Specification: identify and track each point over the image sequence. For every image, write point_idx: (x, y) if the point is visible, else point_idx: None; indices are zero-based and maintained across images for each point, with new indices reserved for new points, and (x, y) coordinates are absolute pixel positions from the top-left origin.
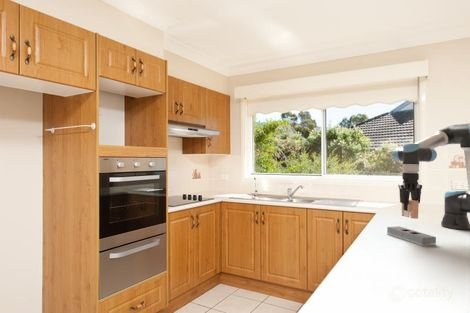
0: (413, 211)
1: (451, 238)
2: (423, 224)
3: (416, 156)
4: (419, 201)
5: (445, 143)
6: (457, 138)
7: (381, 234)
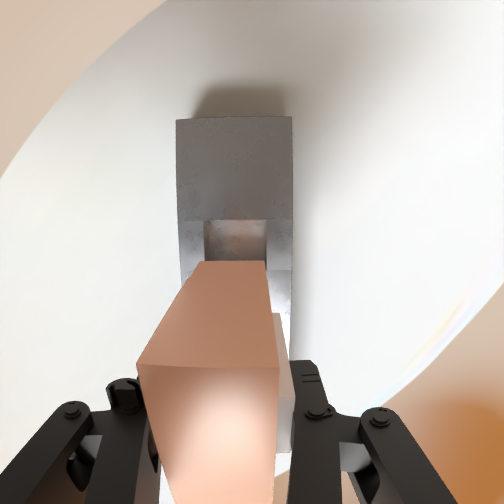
0: (267, 286)
1: (7, 250)
2: (11, 443)
3: None
4: (61, 417)
5: None
6: None
7: None
